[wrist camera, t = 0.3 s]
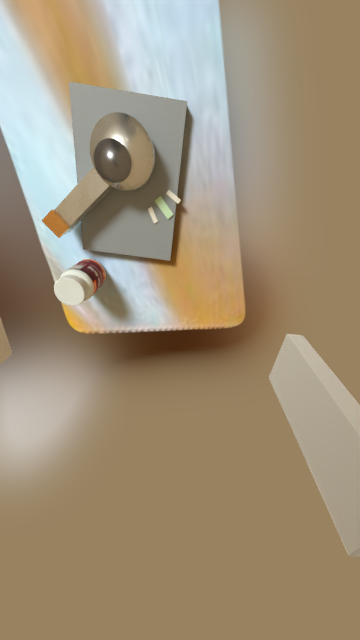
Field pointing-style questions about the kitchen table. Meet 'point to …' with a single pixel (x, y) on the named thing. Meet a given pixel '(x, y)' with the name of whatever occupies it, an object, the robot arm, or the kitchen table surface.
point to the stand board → (142, 204)
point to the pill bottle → (80, 282)
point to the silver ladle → (107, 169)
